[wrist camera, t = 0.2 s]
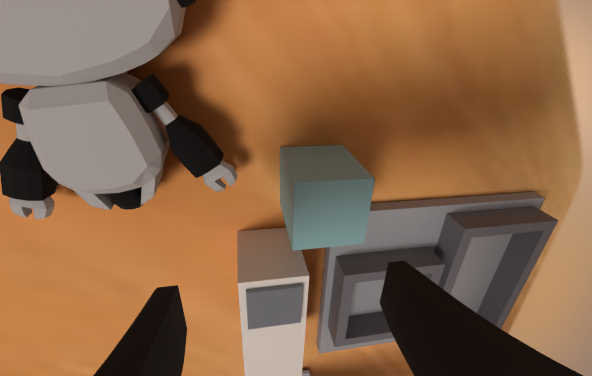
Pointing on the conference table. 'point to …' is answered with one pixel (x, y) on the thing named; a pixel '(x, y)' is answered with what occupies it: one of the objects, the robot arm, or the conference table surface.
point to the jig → (433, 260)
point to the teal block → (324, 196)
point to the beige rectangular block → (271, 302)
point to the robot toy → (93, 104)
